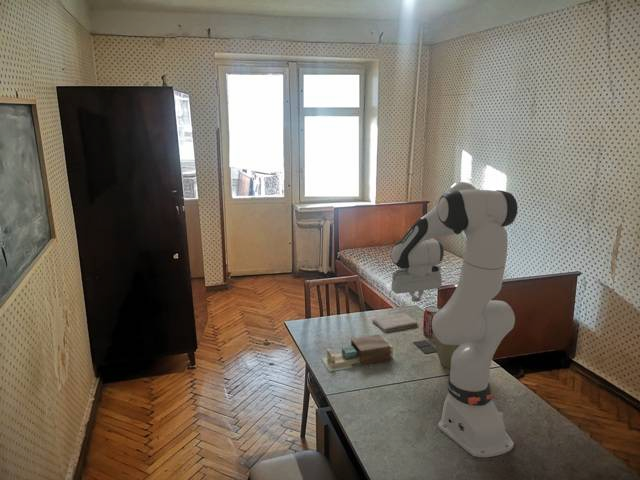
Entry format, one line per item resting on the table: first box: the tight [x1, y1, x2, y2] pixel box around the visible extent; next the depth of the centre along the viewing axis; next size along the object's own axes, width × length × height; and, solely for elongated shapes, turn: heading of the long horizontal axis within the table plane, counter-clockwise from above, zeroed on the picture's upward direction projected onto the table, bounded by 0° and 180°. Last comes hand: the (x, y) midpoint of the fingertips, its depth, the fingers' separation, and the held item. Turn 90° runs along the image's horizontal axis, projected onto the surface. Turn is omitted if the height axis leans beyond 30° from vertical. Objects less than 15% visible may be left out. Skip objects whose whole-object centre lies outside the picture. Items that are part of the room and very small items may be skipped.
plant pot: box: [432, 333, 460, 369], centre depth 174 cm, size 15×15×16 cm
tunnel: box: [350, 334, 391, 367], centre depth 180 cm, size 10×12×6 cm
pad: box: [321, 356, 353, 373], centre depth 177 cm, size 10×9×1 cm
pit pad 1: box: [413, 339, 432, 349], centre depth 191 cm, size 5×6×1 cm
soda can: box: [422, 305, 440, 338], centre depth 198 cm, size 7×7×12 cm
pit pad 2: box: [419, 345, 437, 355], centre depth 186 cm, size 5×6×1 cm
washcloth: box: [372, 312, 419, 333], centre depth 210 cm, size 12×18×3 cm, turn 112°
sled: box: [326, 339, 394, 367], centre depth 179 cm, size 6×25×5 cm, turn 107°
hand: (416, 301), depth 180 cm, fingers closed
